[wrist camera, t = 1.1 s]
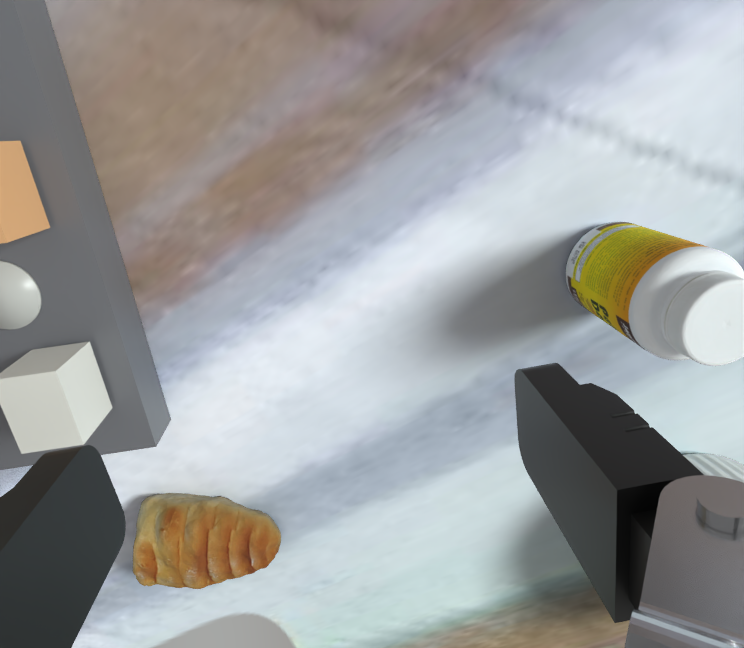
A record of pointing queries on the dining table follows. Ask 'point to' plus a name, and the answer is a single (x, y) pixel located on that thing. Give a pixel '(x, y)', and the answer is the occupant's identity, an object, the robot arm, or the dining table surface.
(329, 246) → the dining table surface
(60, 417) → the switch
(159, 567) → the pastry
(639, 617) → the robot arm
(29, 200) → the switch middle
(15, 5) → the power strip
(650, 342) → the supplement bottle
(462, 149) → the dining table surface
